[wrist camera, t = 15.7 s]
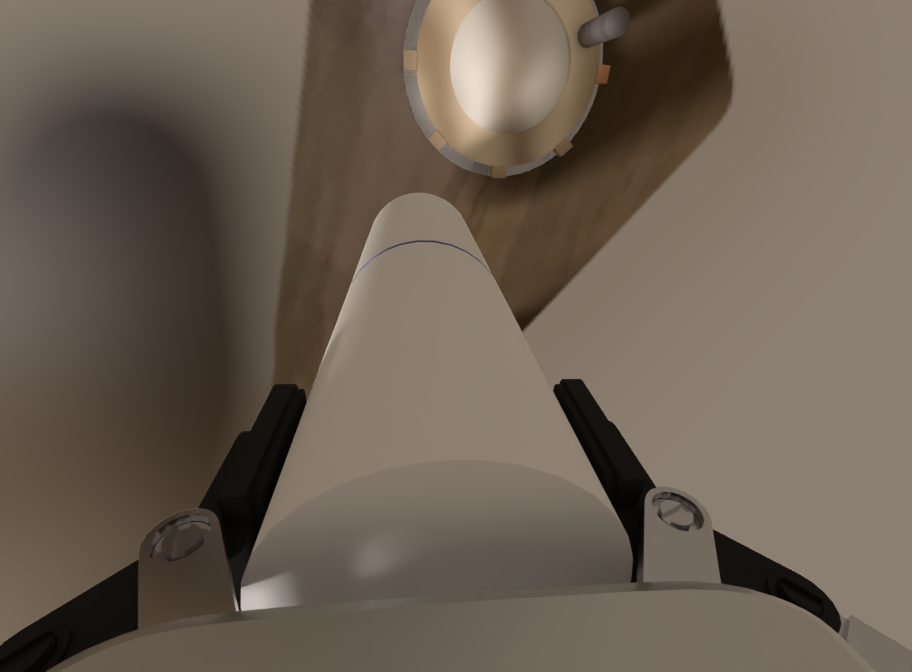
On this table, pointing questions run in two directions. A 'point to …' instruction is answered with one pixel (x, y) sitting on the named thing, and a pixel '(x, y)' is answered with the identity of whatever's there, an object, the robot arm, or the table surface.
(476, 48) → the dial
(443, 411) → the cylindrical container
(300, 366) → the table surface
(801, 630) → the robot arm
